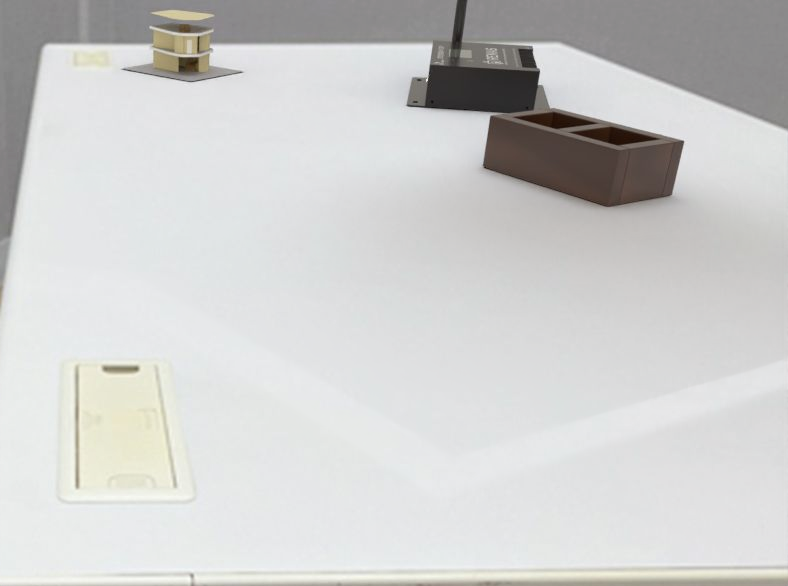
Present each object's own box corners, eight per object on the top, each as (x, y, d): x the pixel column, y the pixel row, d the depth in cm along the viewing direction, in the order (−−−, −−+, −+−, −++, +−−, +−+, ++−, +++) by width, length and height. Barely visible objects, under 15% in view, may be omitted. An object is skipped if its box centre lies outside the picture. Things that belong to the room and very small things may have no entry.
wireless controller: (551, 115, 116) (587, -88, 107) (406, 105, 118) (429, -94, 109) (540, 79, 133) (570, -99, 124) (413, 71, 135) (433, -105, 126)
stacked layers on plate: (120, 68, 131) (120, 13, 128) (174, 59, 137) (175, 6, 134) (190, 81, 126) (192, 24, 123) (243, 71, 132) (246, 16, 129)
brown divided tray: (545, 157, 101) (553, 107, 99) (672, 195, 92) (685, 140, 90) (482, 167, 98) (489, 115, 96) (607, 206, 89) (619, 150, 86)
